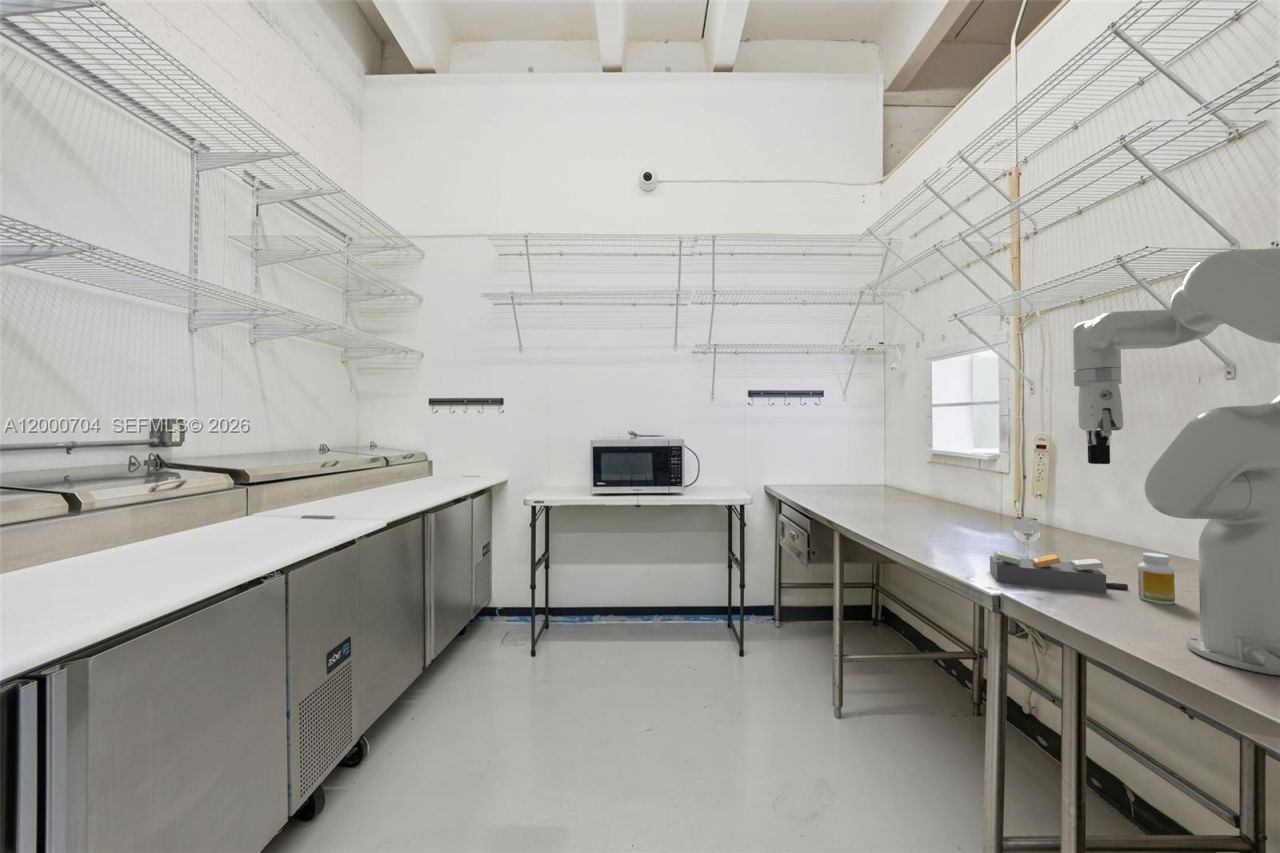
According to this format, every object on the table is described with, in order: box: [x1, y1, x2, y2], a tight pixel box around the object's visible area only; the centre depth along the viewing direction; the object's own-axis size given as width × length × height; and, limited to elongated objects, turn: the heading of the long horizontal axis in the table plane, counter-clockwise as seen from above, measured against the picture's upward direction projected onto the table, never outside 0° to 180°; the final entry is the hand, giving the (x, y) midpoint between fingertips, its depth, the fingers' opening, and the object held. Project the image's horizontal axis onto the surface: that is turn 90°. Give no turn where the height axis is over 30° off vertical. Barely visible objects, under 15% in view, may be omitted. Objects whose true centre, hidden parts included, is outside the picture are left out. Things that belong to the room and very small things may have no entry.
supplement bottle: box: [1137, 552, 1176, 605], centre depth 106 cm, size 5×5×10 cm
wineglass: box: [1013, 516, 1041, 559], centre depth 137 cm, size 6×6×12 cm
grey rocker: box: [1070, 558, 1104, 570], centre depth 115 cm, size 4×5×1 cm
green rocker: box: [993, 550, 1021, 565], centre depth 122 cm, size 4×5×1 cm
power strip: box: [989, 555, 1129, 594], centre depth 119 cm, size 10×25×4 cm, turn 63°
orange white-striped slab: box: [1031, 553, 1062, 568], centre depth 119 cm, size 4×5×1 cm
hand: (1098, 463), depth 107 cm, fingers closed
